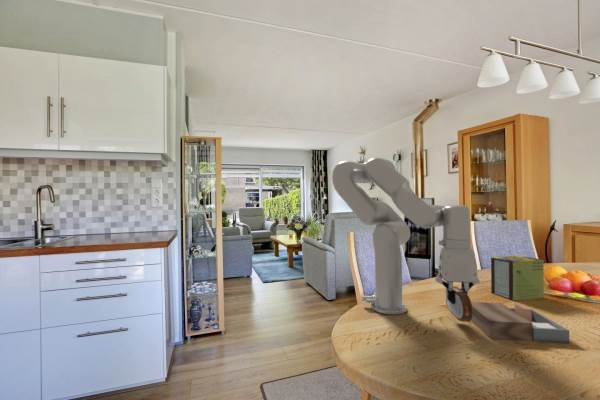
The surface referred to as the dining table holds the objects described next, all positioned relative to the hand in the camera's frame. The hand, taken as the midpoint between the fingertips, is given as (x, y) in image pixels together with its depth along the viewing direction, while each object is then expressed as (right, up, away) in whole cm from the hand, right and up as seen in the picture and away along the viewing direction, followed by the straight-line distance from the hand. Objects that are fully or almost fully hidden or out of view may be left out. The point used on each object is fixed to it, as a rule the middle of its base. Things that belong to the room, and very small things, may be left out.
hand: (457, 302), depth 92 cm
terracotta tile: (+21, -4, +1) cm, 21 cm away
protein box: (+40, -7, +29) cm, 50 cm away
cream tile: (+22, -5, -7) cm, 23 cm away
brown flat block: (+11, -7, -1) cm, 14 cm away
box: (+21, -7, -3) cm, 23 cm away
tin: (0, -4, 0) cm, 4 cm away
